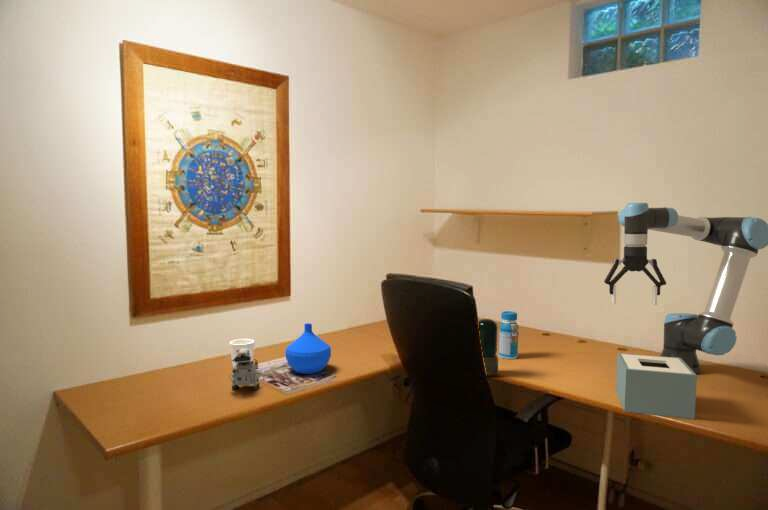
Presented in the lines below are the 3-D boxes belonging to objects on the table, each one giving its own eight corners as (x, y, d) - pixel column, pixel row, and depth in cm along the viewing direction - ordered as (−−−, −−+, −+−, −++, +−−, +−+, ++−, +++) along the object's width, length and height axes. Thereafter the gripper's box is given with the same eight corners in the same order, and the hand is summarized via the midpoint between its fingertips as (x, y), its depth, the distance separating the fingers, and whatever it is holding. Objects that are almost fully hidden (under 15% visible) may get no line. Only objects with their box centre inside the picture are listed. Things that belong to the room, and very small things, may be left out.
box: (678, 397, 178) (680, 357, 177) (694, 419, 159) (696, 375, 158) (616, 390, 184) (617, 352, 183) (624, 411, 165) (626, 369, 164)
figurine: (226, 395, 179) (224, 353, 177) (237, 384, 190) (236, 345, 189) (251, 396, 178) (250, 354, 177) (261, 385, 189) (260, 345, 188)
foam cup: (229, 378, 197) (229, 345, 196) (230, 371, 206) (229, 339, 205) (255, 376, 199) (254, 343, 198) (254, 369, 208) (254, 338, 207)
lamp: (502, 373, 204) (503, 319, 202) (490, 379, 197) (491, 322, 195) (481, 368, 210) (482, 315, 209) (469, 373, 203) (469, 319, 201)
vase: (337, 365, 213) (337, 320, 212) (320, 379, 196) (320, 330, 194) (297, 362, 218) (297, 318, 217) (277, 375, 201) (276, 327, 199)
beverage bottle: (498, 358, 224) (499, 313, 223) (498, 353, 232) (499, 310, 231) (518, 360, 222) (519, 314, 221) (517, 354, 230) (519, 311, 229)
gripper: (670, 244, 185) (668, 302, 187) (596, 244, 191) (595, 300, 193) (677, 246, 178) (675, 306, 179) (600, 246, 184) (599, 304, 186)
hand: (634, 303), depth 186 cm, fingers open, 13 cm apart
